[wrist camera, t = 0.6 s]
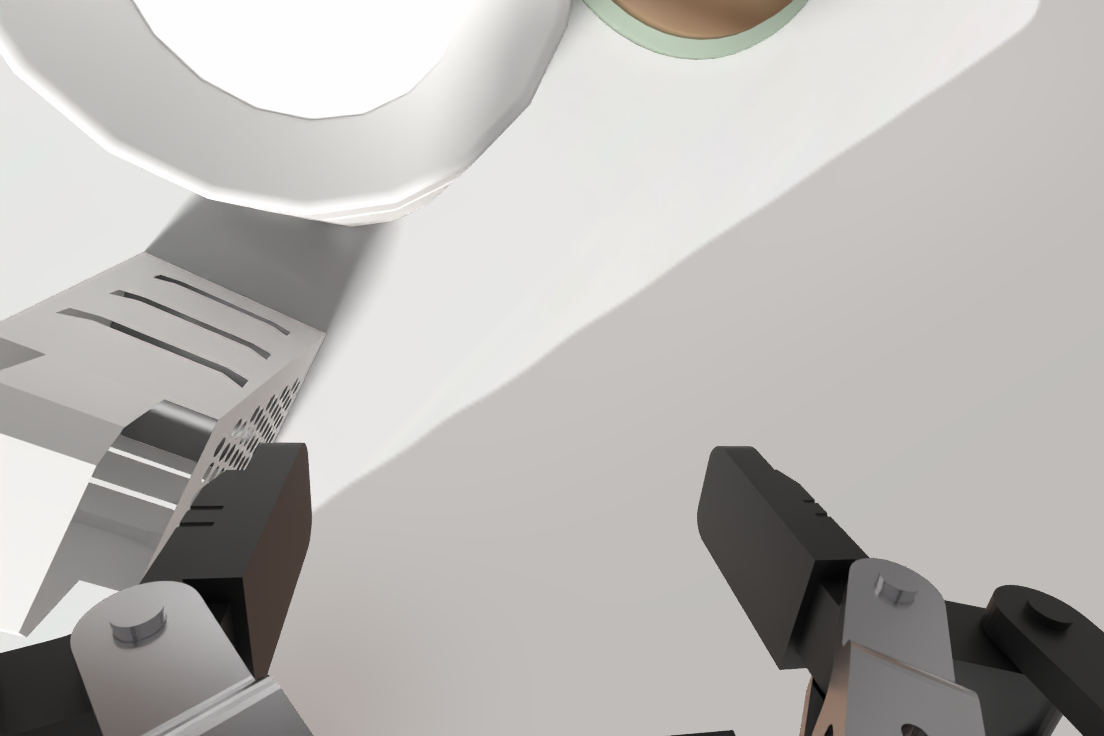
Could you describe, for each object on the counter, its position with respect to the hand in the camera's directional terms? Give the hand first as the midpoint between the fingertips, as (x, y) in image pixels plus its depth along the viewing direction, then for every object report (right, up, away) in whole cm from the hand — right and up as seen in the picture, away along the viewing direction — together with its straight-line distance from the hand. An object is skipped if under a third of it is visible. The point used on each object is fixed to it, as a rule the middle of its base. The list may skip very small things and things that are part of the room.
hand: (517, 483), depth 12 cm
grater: (-20, +2, +24) cm, 31 cm away
